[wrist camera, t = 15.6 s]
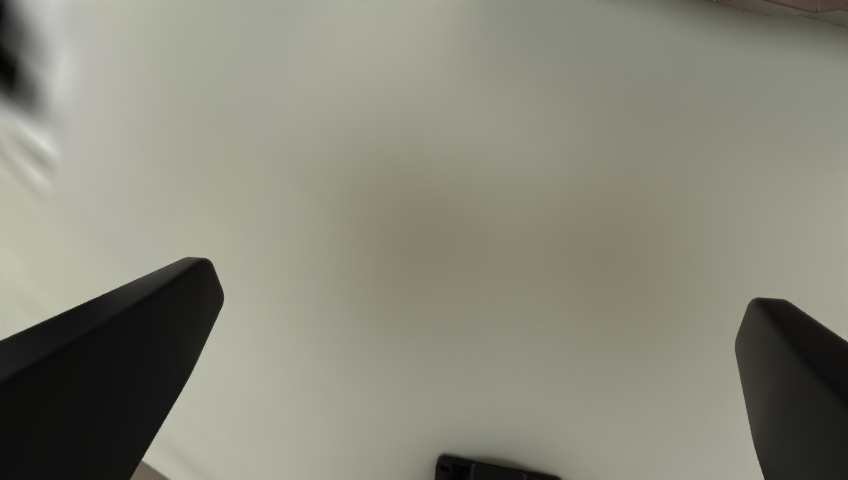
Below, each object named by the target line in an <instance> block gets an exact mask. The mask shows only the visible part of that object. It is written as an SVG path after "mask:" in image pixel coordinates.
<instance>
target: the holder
mask: <svg viewBox="0 0 848 480" xmlns="http://www.w3.org/2000/svg"><path fill="white" fill-rule="evenodd" d="M709 1H713V2H717V3H721V4H725V5H728V6H732V7H736V8H740V9H744V10H748V11H752V12H756V13H760V14H764V15H794V14H796V15H800V16H804V17H808V18H812V19H816V20H820V21H824V22H828V23H832V24H836V25H840V26H844V27H848V0H709Z"/></svg>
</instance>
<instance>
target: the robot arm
mask: <svg viewBox="0 0 848 480" xmlns="http://www.w3.org/2000/svg"><path fill="white" fill-rule="evenodd" d="M223 302H224V293H223V289H222V287H221V284H220V281H219V279H218V276H217V274H216V271H215V268H214V266H213V264H212V262H211V261H210V260H209V259H206V258H198V257H186V258H183V259H181V260H179V261H177V262H174V263H172V264H170V265H168V266H165V267H163V268H161V269H159V270H157V271H154V272H152V273H150V274H148V275H145V276H143V277H141V278H139V279H137V280H134V281H132V282H130V283H128V284H125V285H123V286H121V287H119V288H117V289H114V290H112V291H110V292H108V293H105V294H103V295H101V296H99V297H97V298H94V299H92V300H90V301H88V302H85V303H83V304H81V305H79V306H77V307H74V308H72V309H70V310H68V311H65V312H63V313H61V314H59V315H57V316H54V317H52V318H50V319H48V320H45V321H43V322H41V323H39V324H37V325H34V326H32V327H30V328H28V329H25V330H23V331H21V332H19V333H17V334H14V335H12V336H10V337H8V338H5V339H3V340H1V341H0V480H130V479H131V477H132V475H133V474H134V472H135V470H136V469H137V467H138V465H139V463H140V462H141V460H142V458H143V457H144V455H145V453H146V451H147V450H148V448H149V446H150V445H151V443H152V441H153V439H154V438H155V436H156V434H157V432H158V431H159V429H160V427H161V426H162V424H163V422H164V420H165V419H166V417H167V415H168V414H169V412H170V410H171V408H172V407H173V405H174V403H175V402H176V400H177V398H178V396H179V395H180V393H181V391H182V390H183V388H184V386H185V384H186V382H187V381H188V379H189V377H190V375H191V373H192V371H193V369H194V367H195V365H196V363H197V361H198V358H199V356H200V354H201V352H202V350H203V347H204V345H205V343H206V341H207V339H208V337H209V334H210V332H211V330H212V328H213V326H214V323H215V321H216V319H217V317H218V315H219V312H220V310H221V308H222V305H223ZM735 353H736V358H737V364H738V369H739V374H740V379H741V384H742V389H743V394H744V399H745V404H746V409H747V414H748V419H749V424H750V429H751V434H752V438H753V443H754V447H755V450H756V454H757V457H758V460H759V464H760V467H761V470H762V473H763V476H764V479H765V480H848V342H847V341H845V340H844V339H842V338H841V337H840V336H838V335H837V334H835V333H834V332H832V331H831V330H829V329H828V328H827V327H825V326H824V325H822V324H821V323H819V322H818V321H816V320H815V319H813V318H812V317H811V316H809V315H808V314H806V313H805V312H803V311H802V310H800V309H799V308H797V307H796V306H795V305H793V304H792V303H790V302H788V301H787V300H784V299H775V298H761V297H757V298H754V299H752V300H751V301H750V303H749V304H748V307H747V309H746V312H745V315H744V317H743V320H742V323H741V326H740V328H739V331H738V334H737V337H736V341H735ZM444 465H446V466H444ZM435 480H560V479H559V478H557V477H554V476H549V475H544V474H539V473H534V472H528V471H523V470H518V469H513V468H508V467H503V466H497V465H492V464H487V463H482V462H477V461H472V460H466V459H461V458H456V457H451V456H440V457H439V458H438V460H437V464H436V472H435Z"/></svg>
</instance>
